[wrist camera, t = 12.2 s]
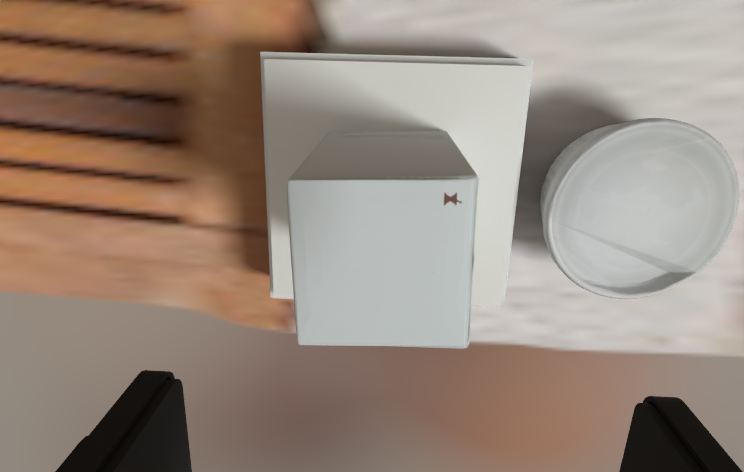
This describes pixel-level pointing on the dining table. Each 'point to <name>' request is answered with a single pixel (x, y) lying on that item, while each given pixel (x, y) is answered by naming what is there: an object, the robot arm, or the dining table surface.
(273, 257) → the stand
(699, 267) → the ramekin
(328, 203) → the supplement box
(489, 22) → the dining table surface
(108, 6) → the dining table surface
